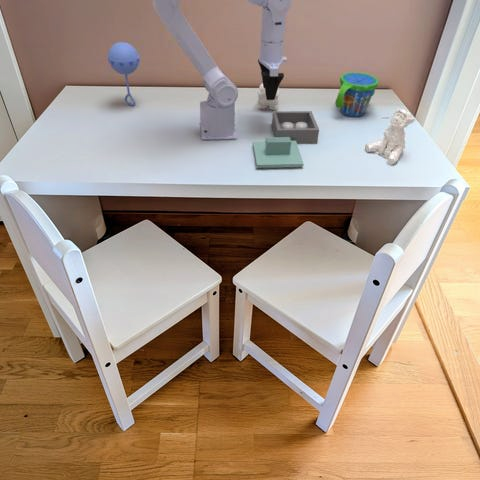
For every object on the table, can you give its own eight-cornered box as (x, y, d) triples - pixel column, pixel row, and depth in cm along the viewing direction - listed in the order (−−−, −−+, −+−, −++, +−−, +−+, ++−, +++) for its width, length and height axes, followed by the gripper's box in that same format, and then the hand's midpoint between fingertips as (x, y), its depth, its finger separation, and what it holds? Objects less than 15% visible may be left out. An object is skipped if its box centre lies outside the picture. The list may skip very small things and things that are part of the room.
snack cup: (357, 100, 129) (365, 67, 122) (383, 112, 123) (392, 79, 116) (321, 111, 123) (326, 77, 116) (345, 125, 116) (353, 90, 110)
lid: (256, 169, 99) (257, 152, 95) (252, 146, 107) (253, 129, 104) (302, 168, 99) (305, 151, 96) (295, 145, 108) (297, 128, 104)
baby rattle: (152, 103, 125) (143, 41, 112) (132, 114, 119) (121, 50, 107) (131, 97, 128) (120, 36, 116) (111, 107, 123) (98, 44, 110)
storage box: (276, 144, 108) (277, 130, 105) (271, 124, 116) (272, 111, 113) (317, 143, 108) (319, 129, 106) (309, 124, 117) (311, 111, 114)
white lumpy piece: (258, 82, 116) (260, 71, 126) (256, 112, 121) (259, 99, 131) (280, 84, 116) (281, 72, 125) (277, 113, 121) (278, 100, 130)
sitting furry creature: (362, 150, 106) (373, 106, 98) (383, 141, 110) (396, 98, 102) (391, 166, 101) (405, 121, 93) (412, 156, 105) (428, 112, 96)
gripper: (292, 49, 95) (287, 104, 104) (284, 30, 105) (280, 82, 115) (263, 49, 94) (260, 105, 104) (257, 30, 105) (255, 82, 114)
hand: (268, 93), depth 109 cm, fingers open, 7 cm apart
